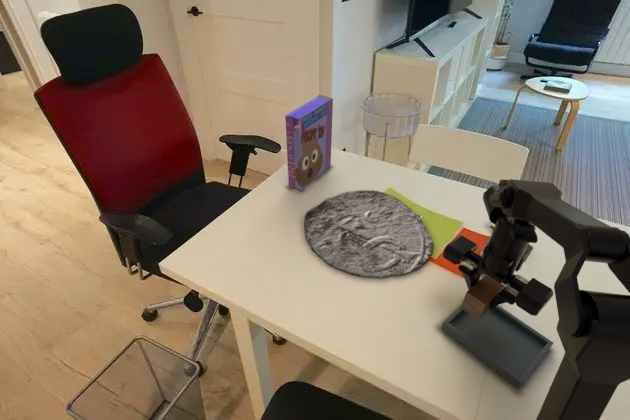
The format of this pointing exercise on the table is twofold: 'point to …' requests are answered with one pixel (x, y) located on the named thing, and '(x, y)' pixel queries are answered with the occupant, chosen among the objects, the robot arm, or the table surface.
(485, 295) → the brown rectangular block
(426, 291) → the table surface
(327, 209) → the ancient coin
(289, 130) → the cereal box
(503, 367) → the tray
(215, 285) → the table surface
